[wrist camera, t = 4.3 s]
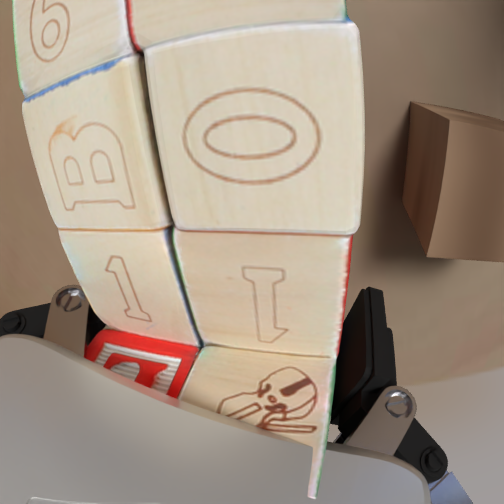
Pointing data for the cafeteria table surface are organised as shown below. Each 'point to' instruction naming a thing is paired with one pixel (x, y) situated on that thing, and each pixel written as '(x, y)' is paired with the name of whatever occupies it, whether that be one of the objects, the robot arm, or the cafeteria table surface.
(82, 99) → the stack of blocks
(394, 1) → the cafeteria table surface
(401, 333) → the cafeteria table surface
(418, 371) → the cafeteria table surface
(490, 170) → the walnut cube
